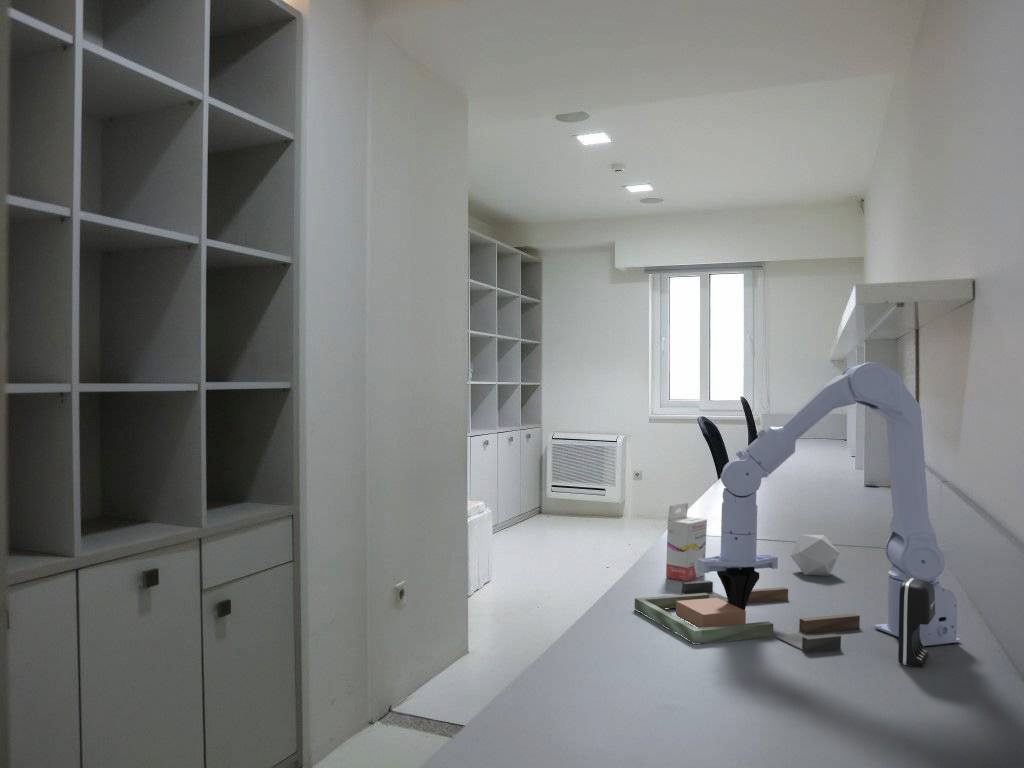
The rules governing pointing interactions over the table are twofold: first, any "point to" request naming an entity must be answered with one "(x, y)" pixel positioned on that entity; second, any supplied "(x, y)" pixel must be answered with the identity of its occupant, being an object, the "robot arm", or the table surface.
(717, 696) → the table surface
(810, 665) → the table surface
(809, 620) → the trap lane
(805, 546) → the die
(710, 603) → the brick block
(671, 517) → the ink cartridge box
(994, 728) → the table surface
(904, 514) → the robot arm
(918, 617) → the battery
